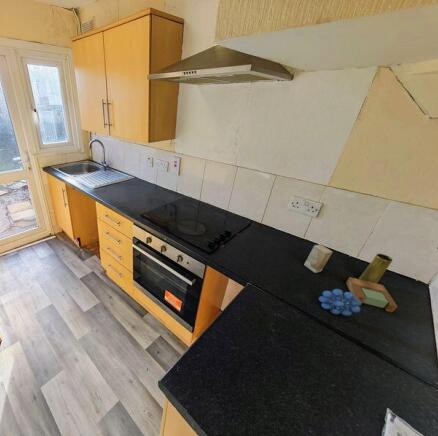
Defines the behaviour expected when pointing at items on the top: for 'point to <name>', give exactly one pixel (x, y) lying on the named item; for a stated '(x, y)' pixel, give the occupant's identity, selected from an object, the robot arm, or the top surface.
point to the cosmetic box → (318, 258)
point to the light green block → (374, 298)
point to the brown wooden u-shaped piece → (357, 284)
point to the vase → (376, 268)
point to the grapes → (340, 302)
